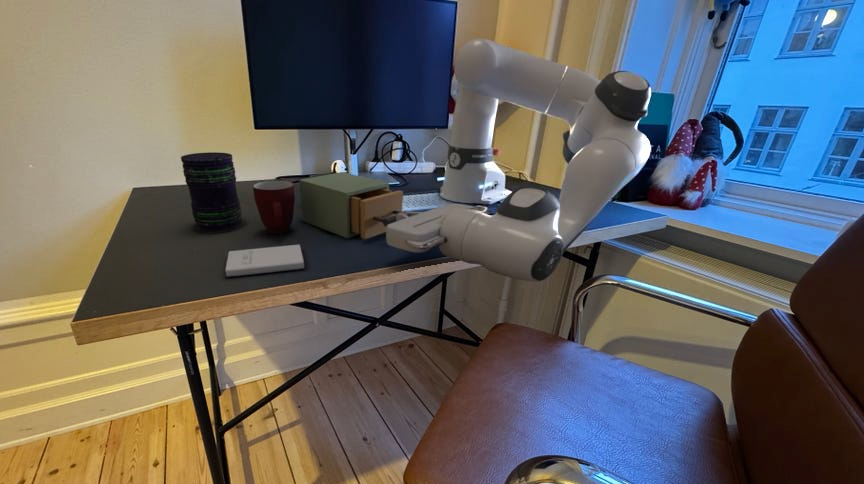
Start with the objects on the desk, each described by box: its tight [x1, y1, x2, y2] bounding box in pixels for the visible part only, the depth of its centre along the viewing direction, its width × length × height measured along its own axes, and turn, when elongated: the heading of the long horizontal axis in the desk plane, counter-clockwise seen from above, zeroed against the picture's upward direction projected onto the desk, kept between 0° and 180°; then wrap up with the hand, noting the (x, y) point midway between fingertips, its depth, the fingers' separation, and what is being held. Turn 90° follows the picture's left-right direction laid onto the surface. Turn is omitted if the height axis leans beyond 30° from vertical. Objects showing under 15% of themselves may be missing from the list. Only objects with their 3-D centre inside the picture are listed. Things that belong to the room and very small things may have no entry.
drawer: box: [349, 188, 404, 240], centre depth 78 cm, size 19×11×8 cm, turn 47°
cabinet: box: [298, 171, 390, 239], centre depth 83 cm, size 16×13×10 cm
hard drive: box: [225, 244, 305, 278], centre depth 64 cm, size 2×8×12 cm
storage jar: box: [180, 151, 244, 234], centre depth 78 cm, size 10×10×15 cm
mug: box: [252, 180, 296, 235], centre depth 76 cm, size 11×8×10 cm
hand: (400, 216), depth 72 cm, fingers closed, pressing on drawer
